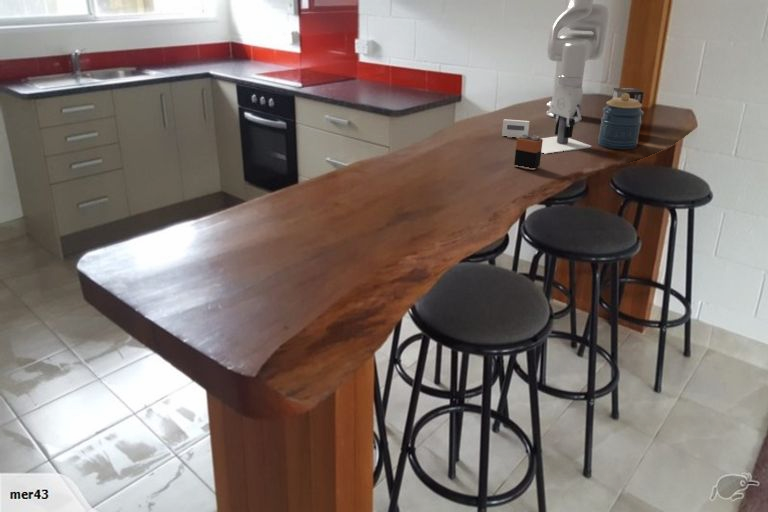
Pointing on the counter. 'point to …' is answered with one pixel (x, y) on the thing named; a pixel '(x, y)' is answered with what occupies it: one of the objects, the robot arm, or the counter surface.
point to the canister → (620, 123)
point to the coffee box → (633, 93)
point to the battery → (528, 151)
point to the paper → (561, 145)
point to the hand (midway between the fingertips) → (563, 135)
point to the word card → (515, 128)
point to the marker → (562, 130)
